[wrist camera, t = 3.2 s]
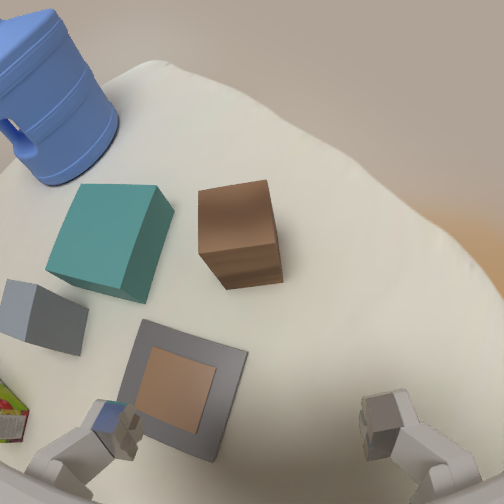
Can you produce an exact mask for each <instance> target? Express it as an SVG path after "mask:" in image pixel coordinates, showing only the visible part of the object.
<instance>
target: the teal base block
mask: <svg viewBox="0 0 504 504" xmlns="http://www.w3.org/2000/svg"><path fill="white" fill-rule="evenodd" d="M173 214H174V210H173V208H172V207H171V205H170V204H169V203H168V201H167V200H166V198H165V197H164V195H163V194H162V192H161V191H160V189H159V188H158V187H157V185H129V184H81V185H80V187H79V189H78V191H77V193H76V195H75V198H74V200H73V202H72V204H71V206H70V208H69V211H68V213H67V215H66V218H65V220H64V222H63V225H62V227H61V229H60V232H59V234H58V237H57V239H56V242H55V244H54V247H53V249H52V252H51V255H50V257H49V260H48V263H47V266H46V268H45V270H46V271H48V272H50V273H51V274H53V275H55V276H57V277H58V278H60V279H62V280H64V281H65V282H67V283H69V284H71V285H73V286H77V287H80V288H84V289H87V290H91V291H95V292H99V293H102V294H106V295H110V296H114V297H118V298H122V299H126V300H130V301H134V302H138V303H142V304H146V300H147V297H148V293H149V290H150V286H151V283H152V280H153V276H154V273H155V270H156V266H157V263H158V260H159V257H160V254H161V250H162V247H163V244H164V241H165V238H166V235H167V232H168V229H169V226H170V223H171V220H172V217H173Z"/></svg>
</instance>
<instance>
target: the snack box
mask: <svg viewBox="0 0 504 504" xmlns="http://www.w3.org/2000/svg"><path fill="white" fill-rule="evenodd" d="M28 412H29V410H28V408H27V407H26V406H25V405H24V404H23V403H21V402H20V401H19V399H18V398H17V397H16V396H15V395H14V394H13V393H12V392H11V391H10V390H9V389H8V388H7V387H6V386H5V385H4V384H3V383H2V382H1V380H0V443H14V442H22V438H23V434H24V429H25V424H26V420H27V416H28Z"/></svg>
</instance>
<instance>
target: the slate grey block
mask: <svg viewBox="0 0 504 504" xmlns="http://www.w3.org/2000/svg"><path fill="white" fill-rule="evenodd" d="M88 311H89V309H87V308H84V307H82V306H80V305H78V304H76V303H74V302H72V301H69V300H67V299H65V298H63V297H61V296H59V295H57V294H55V293H53V292H51V291H49V290H47V289H45V288H43V287H41V286H39V285H37V284H32V283H26V282H20V281H15V280H10V279H7V281H6V285H5V289H4V293H3V297H2V301H1V305H0V332H1V333H4V334H6V335H9V336H11V337H14V338H16V339H19V340H21V341H24V342H27V343H31V344H34V345H38V346H41V347H45V348H48V349H52V350H56V351H60V352H64V353H68V354H72V355H76V356H80V354H81V348H82V342H83V337H84V331H85V326H86V321H87V316H88Z"/></svg>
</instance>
